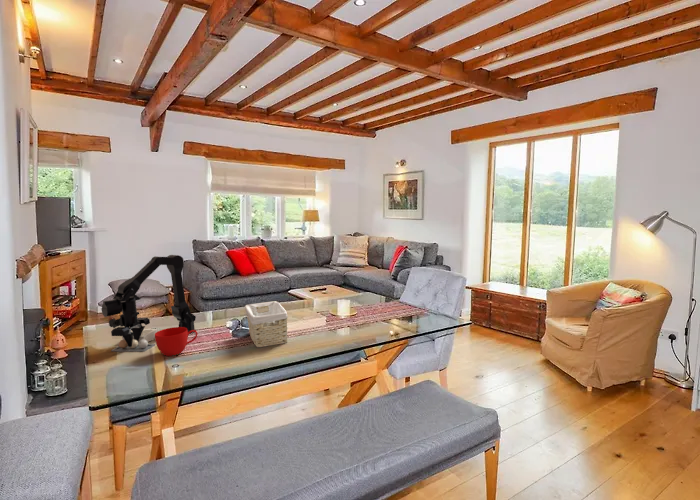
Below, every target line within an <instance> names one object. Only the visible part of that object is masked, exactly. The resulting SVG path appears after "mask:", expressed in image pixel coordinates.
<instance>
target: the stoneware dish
mask: <svg viewBox="0 0 700 500" xmlns="http://www.w3.org/2000/svg"><path fill="white" fill-rule="evenodd" d="M158 331H159V329H158V328H144V329H143V331H142V334H141V336H140V339H139V341H140V340H143V339H144V340H147V342H148V343H149V342H151V341H153V340H154V339H155V333H156V332H158ZM121 337H122V338H121V340H123V339H124V338H123V336H121ZM133 339H134V336H133ZM139 341H138V343H139Z"/></svg>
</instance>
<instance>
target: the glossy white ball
mask: <svg viewBox="0 0 700 500" xmlns="http://www.w3.org/2000/svg"><path fill="white" fill-rule="evenodd" d="M148 344H149V342H147V340H144V339H143V340H140V341H139V343H138V346H139V348H142V349H143V348H146V347H147V346H148Z"/></svg>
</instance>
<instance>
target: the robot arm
mask: <svg viewBox="0 0 700 500" xmlns="http://www.w3.org/2000/svg"><path fill="white" fill-rule="evenodd" d="M184 262H185V261H184V258H183V257H182V256H181V255H178V254H169V255H168V256H153V257H151V259H150V260H149V261H148V262H147V263H146V264H145V265H144V266H143V267H142V268H141V269H139V271H138V272H136V273H135V275H133V276H132V277H131V278H128V279H126V280H124V281H123V282H122V283H120V284H119V285H118V287H117V291H116V293H115V294H114V296H113V298H112V299H108V300H103V301H102V305H101V313H102V315H103V317H105V318H108V317H111V316H116V315H119V314H120V315H119V318H117V319H116V318H112V319H109V320H108V325H109V327H110V328H112V330H111V332H110V333H111V337H122V336H123V338H124V339H125V341H126V342H127V344H128V346H129V347H131V346H132V342H133V336H134V339H135V340H137V341H139V339H140V336H141V334H142V331H143V329H146V326H147V325H149V324H151V322H150V318H149V317H138V316H139V315H140V311H137V310H138V309H137V308H138V307H137V301H140V300H141V297H140V296H138V295H137V292H138V291H140V288H141V286H142V284H143V283H144V282H145V281H146V280H147V279H148V278H149V277H150V276H151V275H152V274H153V273H154V272H155V271H156V270H158V268H159V267H160V266H163V265H164V266H166V268H167V270H168V271H169V273H170V275H171V277H170V278H171V282H172V290H173V296H174V297H173V298H174V303H173V305H171V306H170V308H171V315H172V316H173V317H174V318H175V319H176V320H177V321H178V327H184V328H187V330H188V332H189V331H191V330H195V331H197V329H195V321H196V319H197V318H196V317H197V316H196V315H194V314H193V313H191V309H190V306H189V304H188V303H187V301H186V297H185V288H184V280H183V273H182V272H183V269H184ZM121 313H122V314H121ZM142 324H144V325H142ZM191 333H192V332H191ZM191 333H190V334H189V335H192V334H193V333H192V334H191Z"/></svg>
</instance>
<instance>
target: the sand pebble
mask: <svg viewBox="0 0 700 500" xmlns="http://www.w3.org/2000/svg"><path fill="white" fill-rule="evenodd" d="M137 346H138V341H137V340H135V339H133V342H132V346H131V347H130V348H136V347H137Z"/></svg>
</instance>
